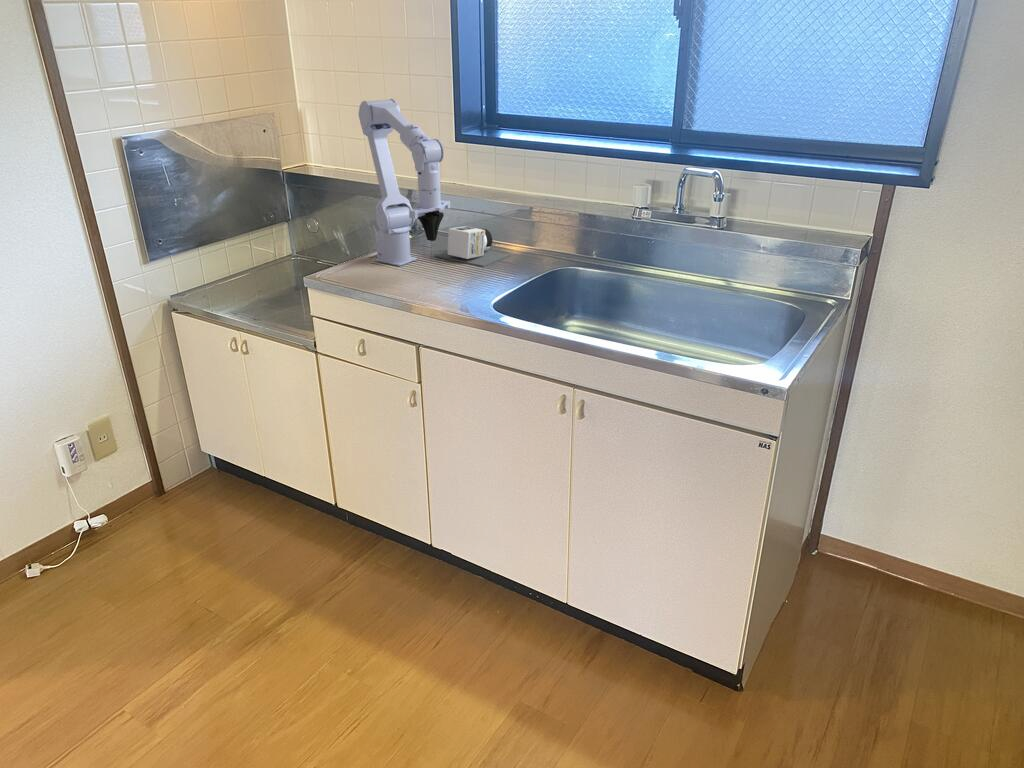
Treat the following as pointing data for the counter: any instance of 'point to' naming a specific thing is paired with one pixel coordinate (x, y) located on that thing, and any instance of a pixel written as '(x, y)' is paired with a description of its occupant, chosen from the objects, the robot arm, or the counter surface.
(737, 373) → the counter surface
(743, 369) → the counter surface
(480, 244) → the container
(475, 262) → the mat
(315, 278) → the counter surface
